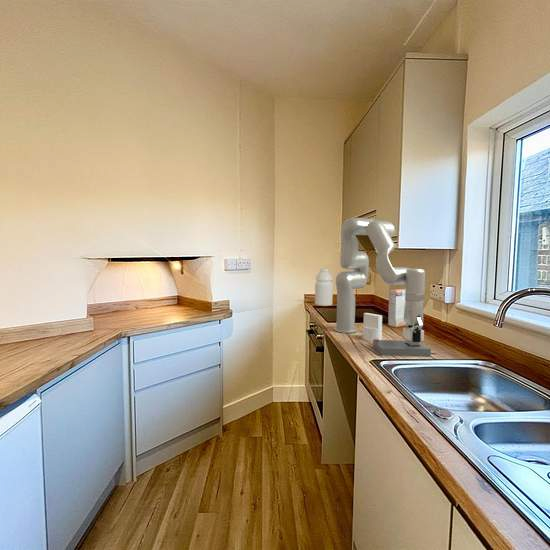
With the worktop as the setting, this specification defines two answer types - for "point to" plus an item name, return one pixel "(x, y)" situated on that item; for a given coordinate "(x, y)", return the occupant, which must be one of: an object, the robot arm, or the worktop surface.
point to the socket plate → (400, 348)
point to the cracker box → (396, 308)
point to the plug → (409, 333)
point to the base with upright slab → (372, 327)
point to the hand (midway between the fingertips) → (413, 339)
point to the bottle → (324, 288)
